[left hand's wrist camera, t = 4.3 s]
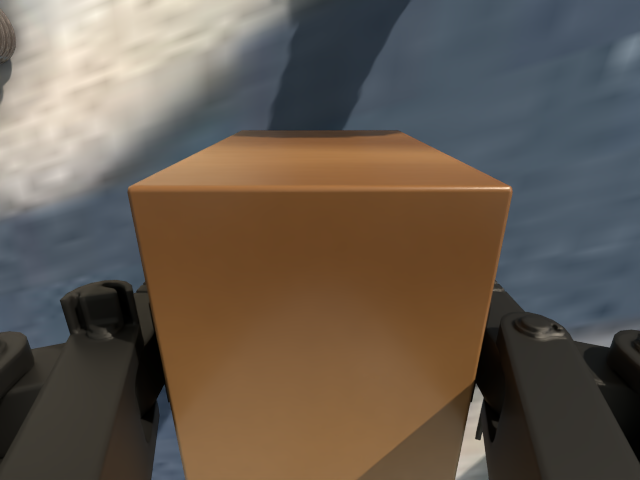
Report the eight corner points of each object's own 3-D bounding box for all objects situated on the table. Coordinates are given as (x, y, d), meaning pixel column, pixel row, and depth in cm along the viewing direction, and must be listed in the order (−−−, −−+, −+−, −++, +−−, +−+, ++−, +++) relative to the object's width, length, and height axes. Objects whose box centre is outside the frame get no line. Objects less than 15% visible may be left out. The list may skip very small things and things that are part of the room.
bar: (240, 130, 13) (123, 186, 5) (400, 130, 13) (516, 186, 5) (271, 532, 22) (244, 779, 14) (368, 532, 22) (395, 779, 14)
